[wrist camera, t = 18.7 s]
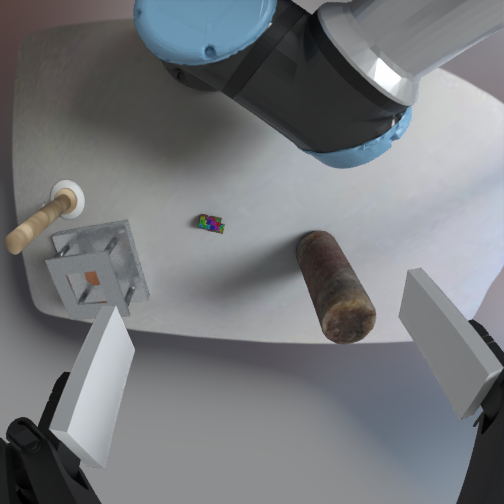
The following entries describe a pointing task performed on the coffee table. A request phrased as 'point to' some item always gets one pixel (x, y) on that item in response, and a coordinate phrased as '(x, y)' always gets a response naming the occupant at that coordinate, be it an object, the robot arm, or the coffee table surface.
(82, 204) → the coaster
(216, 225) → the multicolour small angular block
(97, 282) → the breaker button
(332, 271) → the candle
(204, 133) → the coffee table surface
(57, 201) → the turned wooden spindle
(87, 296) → the grey square frame
